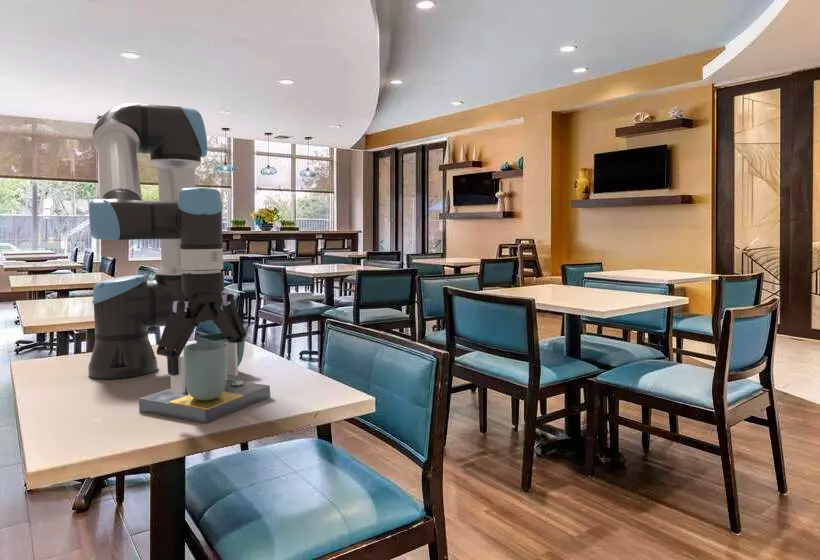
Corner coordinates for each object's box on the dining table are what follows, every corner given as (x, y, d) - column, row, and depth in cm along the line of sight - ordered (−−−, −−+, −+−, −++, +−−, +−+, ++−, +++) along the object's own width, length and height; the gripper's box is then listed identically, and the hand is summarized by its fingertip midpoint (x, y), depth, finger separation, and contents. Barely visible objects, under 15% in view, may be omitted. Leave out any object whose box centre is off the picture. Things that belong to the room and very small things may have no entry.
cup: (192, 391, 114) (191, 341, 113) (232, 391, 115) (231, 342, 113) (178, 404, 106) (177, 350, 105) (222, 404, 107) (221, 350, 106)
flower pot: (247, 371, 142) (246, 335, 141) (213, 378, 136) (212, 340, 135) (228, 366, 148) (227, 331, 147) (196, 372, 142) (194, 336, 141)
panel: (139, 411, 112) (138, 394, 111) (208, 387, 128) (207, 373, 127) (206, 423, 104) (206, 406, 104) (271, 397, 120) (270, 381, 120)
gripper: (162, 277, 95) (167, 403, 97) (262, 267, 118) (264, 370, 120) (131, 276, 99) (136, 397, 101) (233, 266, 121) (236, 366, 123)
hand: (206, 383), depth 110 cm, fingers open, 13 cm apart
